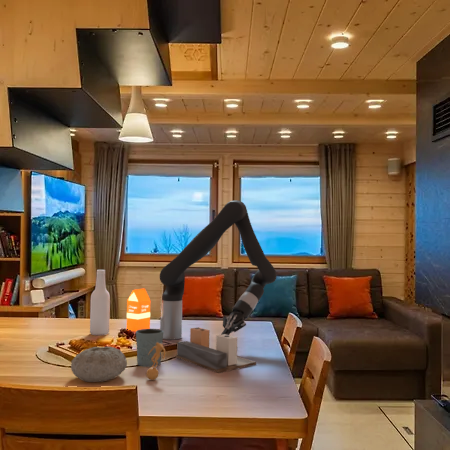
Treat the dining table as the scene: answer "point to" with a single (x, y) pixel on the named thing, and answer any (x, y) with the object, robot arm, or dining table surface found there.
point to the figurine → (152, 371)
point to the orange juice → (138, 310)
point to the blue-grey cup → (148, 346)
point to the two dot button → (199, 336)
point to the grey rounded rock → (98, 364)
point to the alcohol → (100, 307)
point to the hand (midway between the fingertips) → (222, 337)
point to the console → (208, 357)
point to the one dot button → (227, 347)
